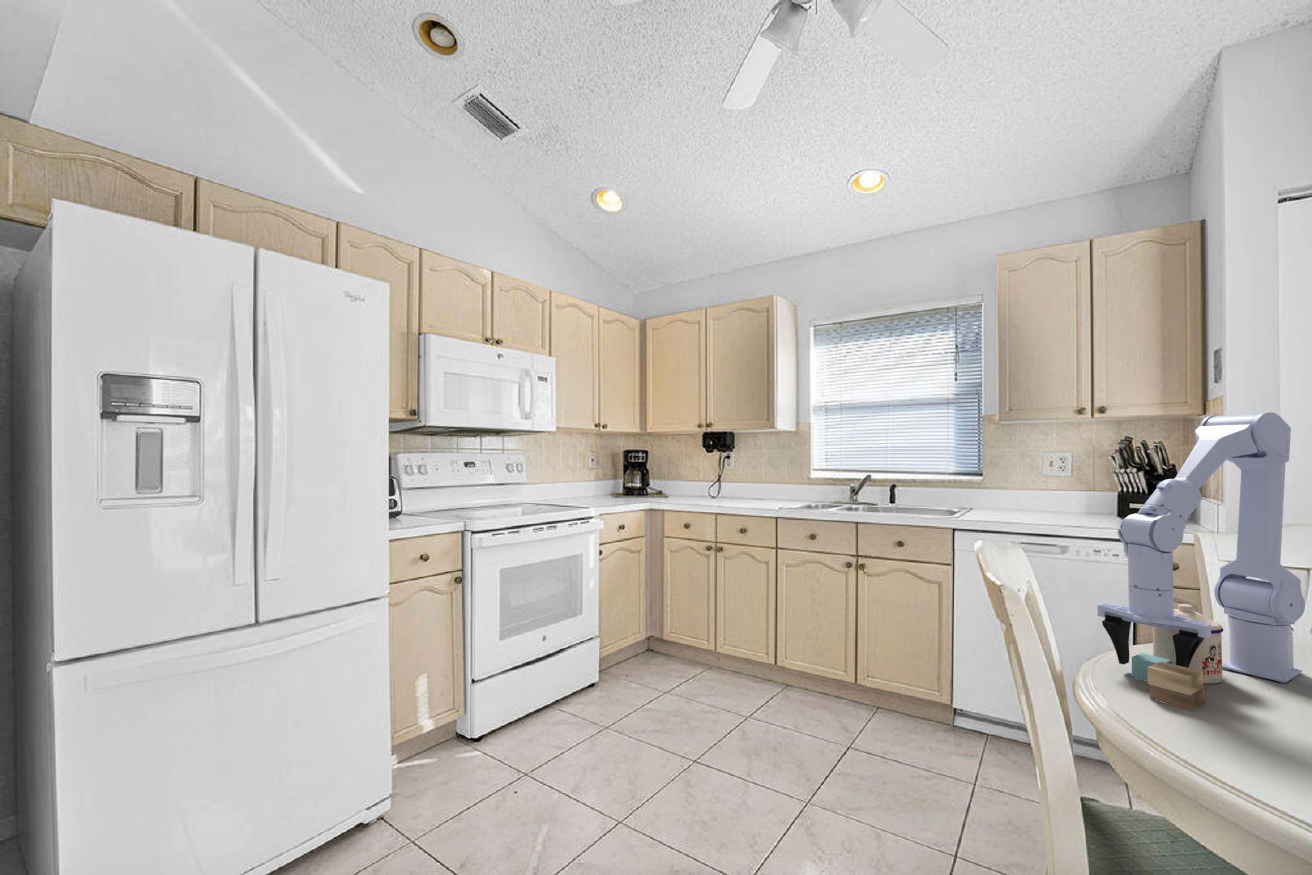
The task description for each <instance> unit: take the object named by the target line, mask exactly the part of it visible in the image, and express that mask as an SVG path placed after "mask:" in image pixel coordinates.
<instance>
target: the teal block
mask: <svg viewBox="0 0 1312 875" xmlns="http://www.w3.org/2000/svg"><path fill="white" fill-rule="evenodd" d="M1158 662H1165V663H1169V664H1172V660H1169V659H1165V658H1161V657H1157V656H1153V654H1148V653H1143V652H1140V653H1138V654H1135V655H1133V656H1131V678H1132V677H1133V678H1132V679H1135V678H1137V679H1136V680H1139V679H1140V681H1142V680H1146V681H1148V672H1147V667H1149V666H1151V665H1154V664H1156V663H1158ZM1146 681H1145V682H1146Z"/></svg>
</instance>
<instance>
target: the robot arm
mask: <svg viewBox="0 0 1312 875" xmlns="http://www.w3.org/2000/svg"><path fill="white" fill-rule="evenodd" d="M1194 432H1195V433H1194V436H1195V440H1196V443H1195V445H1194V447H1193V449H1192V450H1191V452H1190V454H1188V456H1187V458H1186V460H1185V461H1184V463H1183V465H1182V466H1181V468H1180V470H1179V471H1178V472H1177V474H1176V476H1175V477H1174V478H1169V479H1168V478H1167V479H1164V480H1162V481H1160V482H1159V483H1158V484H1157V485H1156V489H1155V490H1154V491H1153V493H1152V494H1151V495H1150V496H1149V498H1148V499H1147V500H1146V501H1145V503H1144V504H1143V505H1142V506H1141V508H1140V509H1139V511H1138V512H1137V513H1136V512H1135V513H1132V514H1129V515H1127V516H1126V517H1125V518H1123V519H1122V521H1121V522H1120V524H1119V528H1118V529H1117V535H1118V536H1117V537H1118V538H1119V540H1120V541H1121V543H1122V544H1123V551H1124V552H1123V553H1124V554H1125V556H1127V576H1128V577H1127V579H1128V581H1127V582H1128V584H1127V585H1128V593H1127V594H1128V606H1122V605H1114V604H1108V603H1100V604H1098V605H1097V606H1096V607H1097V617H1102V618H1104V620H1102V621H1101V622H1102V623H1101V624H1102V626H1103V628H1104V629H1105V631H1106V633H1107V634H1108V636H1109V638H1110V640H1111V642H1112V645H1113V648H1114V650H1115V653H1116V657H1117V660H1118V664H1120V665H1126V664H1128V663H1130V645H1129V644H1130V632H1131V626H1132V623H1136V624H1140V625H1145V626H1151V627H1153V626H1154V627H1159V628H1163V629H1168V630H1173V631H1178V632H1179V634H1175V635H1173V642H1174V647H1175V654H1176V665H1178V666H1182V667H1186V668H1189V665H1190V662H1191V660H1192V657H1193V655H1194V653H1195V652H1196V650H1197V648H1198V647H1199V645H1200V644H1201V643H1202V641H1203V640H1204V638H1209V637H1211V624H1207V623H1202V622H1198V621H1194V620H1190V619H1186V618H1182V617H1179V616H1175V615H1174V609H1175V607H1174V566H1173V565H1174V561H1173V560H1174V557H1173V554H1174V551H1175V550H1176V549H1178V547H1180V546H1182V543H1183V541H1184V540H1183V539H1184V530H1185V529H1186V525H1187V524H1186V521H1187V519H1188V518H1190V516H1191V514H1192V513H1193V512H1194V510H1195V509H1196V508H1197V506H1198V505H1199V504H1200V503H1201V501H1202V500H1203V496H1202V493H1201V491H1200V488H1202V486H1203V485H1204V484H1205V483H1206V482H1207V481H1208V479H1210V478H1211V477H1212V476H1213V474H1214V473H1215V472H1216V471H1217V470H1219V468H1220V467H1221V466H1222V465H1223V464H1224V463H1225V461H1227V462H1229V463H1233V464H1234V465H1235V466H1236V467H1237V468H1238V469H1239V470H1240V485H1239V486H1240V487H1239V490H1240V491H1239V503H1238V504H1239V506H1238V520H1237V522H1238V523H1237V524H1238V525H1237V542H1236V556H1235V557H1236V558H1235V559H1234V560H1232V561H1231V562H1229V563H1226V564H1225V565H1223V566H1221V567H1220V570H1219V577H1218V580H1217V582H1216V583H1215V586H1214V589H1213V590H1214V591H1213V592H1214V598H1215V600H1216V602H1217V604H1218V605H1219V606H1220V608H1222V609H1223V613H1224V614H1225V615H1228V630H1229V631H1228V632H1229V633H1228V635H1229V660H1228V661H1226V662H1222V669H1225V670H1229V671H1233V672H1238V673H1242V674H1246V675H1249V676H1254V677H1259V678H1263V679H1268V680H1271V681H1272V680H1273V681H1276V682H1279V683H1288V682H1290V680H1293V679H1295V677H1297V676H1299V675H1300V674H1301V673H1302V672H1303V670H1302V669H1301V668H1298V667H1294V664H1295V663H1294V636H1293V632H1292V629H1291V628H1290V625H1296V624H1295V623H1296V622H1297V621H1299V620H1300V618H1301V617H1302V616H1303V615H1304V612H1305V610H1306V608H1305V607H1306V601H1305V597H1304V596H1303V592H1302V587H1301V586H1302V585H1301V583H1302V582H1301V581H1302V580H1301V579H1300V578H1299V577H1298V576H1297V575H1295V574H1294V573H1293V572H1292V571H1290V570H1288V568H1286V567H1284V566H1283V564H1281V554H1282V538H1283V518H1284V501H1285V500H1284V498H1285V497H1284V496H1285V481H1286V480H1285V479H1286V478H1285V477H1286V463H1289V461H1290V452H1291V451H1290V448H1291V433H1292V430H1291V426H1290V425H1289V424H1288V423H1287V422H1286V421H1285V420H1284V418H1282V416H1280V414H1278V413H1276V412H1271V411H1270V412H1269V411H1268V412H1262V413H1246V414H1232V415H1230V414H1229V415H1217V414H1216V415H1214V414H1213V415H1209V416H1207V417H1205V418H1204V419H1202V421H1201V423H1200V425H1199V426H1198V428H1196V429H1195V431H1194ZM1248 577H1250V578H1248ZM1259 579H1262V580H1259ZM1163 624H1164V625H1163Z"/></svg>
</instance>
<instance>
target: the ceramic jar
mask: <svg viewBox="0 0 1312 875" xmlns="http://www.w3.org/2000/svg"><path fill="white" fill-rule="evenodd" d="M1174 615H1175V616H1179V617H1182V618H1186V619H1190V620H1194V621H1198V622H1202V623H1207V624H1211V637H1209V638H1204V640H1203V641H1202V643H1201V644H1200V645H1199V647H1198V648H1197V650H1196V652H1195V653H1194V655H1193V657H1192V660H1191V662H1190V665H1189V668H1191V669H1195V670H1199V671H1203V685H1205V684H1206V685H1207V684H1210V685H1211V684H1212V685H1215V684H1218V683H1221V682H1222V681H1223V668H1222V664H1223V654H1222V652H1223V642H1222V638H1223V637H1222V633H1223V632H1224V628H1223V625H1222V624H1221V623H1219V622H1218V621H1216V620H1213V619H1210V618H1208V617H1206V616H1205V615H1203V614H1201V613H1200V612H1197V611H1195V607H1194V606H1193V605H1191V604H1187V603H1179V604H1177V608H1174ZM1163 625H1164V624H1163ZM1175 634H1179V632H1178V631H1173V630H1168V629H1163V628H1159V627H1154V626H1152V653H1153V654H1152V655H1153V656H1157V657H1161V658H1165V659H1169V660H1172V664H1174V665H1176V654H1175V647H1174V642H1173V635H1175Z"/></svg>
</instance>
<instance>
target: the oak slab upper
mask: <svg viewBox="0 0 1312 875" xmlns="http://www.w3.org/2000/svg"><path fill="white" fill-rule="evenodd" d="M1147 672H1148V682H1147V685H1149V684H1150V685H1154V686H1157V687H1161V688H1165V689H1169V690H1172V691H1176V692H1180V693H1184V694H1187V695H1192V694H1194V693H1196V692H1198V691H1199V690H1201V689H1203V688H1204V684H1203V671H1199V670H1195V669H1191V668H1186V667H1182V666H1178V665H1174V664H1169V663H1165V662H1158V663H1156V664H1154V665H1151V666H1149V667H1147Z"/></svg>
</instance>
